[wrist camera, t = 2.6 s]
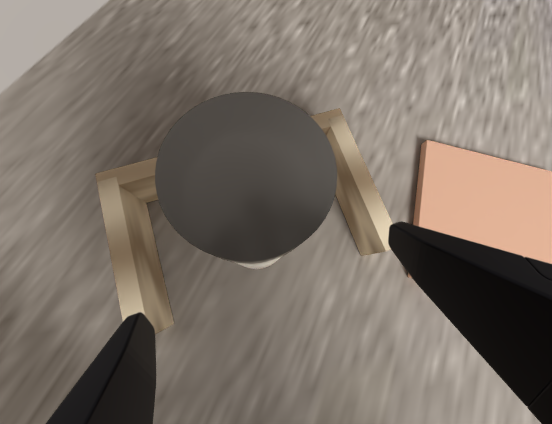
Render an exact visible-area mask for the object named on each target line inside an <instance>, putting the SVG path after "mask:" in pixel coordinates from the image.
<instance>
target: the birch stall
mask: <svg viewBox="0 0 552 424" xmlns="http://www.w3.org/2000/svg"><path fill="white" fill-rule="evenodd" d="M310 117H311V118H313V119H314V120H315V122H316V123H317V124H318V125H319V126H320V127H321V129H322V130H323V132H324V133H325V135H326V136H327V138H328V140H329V142H330V144H331V146H332V149H333V152H334V155H335V160H336V165H337V188H336V193H335V194H336V197H337V199H338V202H339V204H340V207H341V209H342V211H343V214H344V216H345V219H346V221H347V223H348V226H349V228H350V231H351V233H352V235H353V238H354V240H355V243H356V245H357V247H358V250H359V252H360V255H361V256H364V255H369V254H375V253H380V252H385V251H388V250H391V248H390V246H389V244H388V237H389V227H390V225H391V224H392V221H391V219H390V217H389V215H388V213H387V210H386V208H385V206H384V204H383V202H382V200H381V197H380V195H379V193H378V191H377V189H376V186H375V184H374V182H373V180H372V178H371V176H370V173H369V171H368V169H367V167H366V165H365V162H364V160H363V158H362V156H361V154H360V152H359V149H358V147H357V145H356V143H355V141H354V138H353V136H352V134H351V132H350V130H349V128H348V125H347V123H346V121H345V119H344V117H343V114H342V112H341V110H340V108H339V109H335V110H331V111H327V112H324V113H320V114H316V115H312V116H310ZM156 161H157V157H156V158H152V159H148V160H144V161H141V162H137V163H133V164H129V165H126V166H122V167H118V168H114V169H111V170H107V171H103V172H100V173H96V174H95V175H96V180H97V186H98V191H99V196H100V202H101V207H102V212H103V218H104V223H105V228H106V234H107V239H108V244H109V250H110V255H111V261H112V266H113V271H114V277H115V282H116V287H117V293H118V298H119V303H120V309H121V314H122V319H123V321H124V320H125V319H126V317H128V316H130V315H133V314H135V313H138V312H141V313H143V314H144V315H145V316H146V317H147V319H148V320H149V321H150V323H151V324H152V325H153V327H154V329H155V334H157V333H159V332H160V331H162V330H164V329H166V328H168V327H169V326H171V325H173V324H174V321H173V316H172V312H171V308H170V303H169V299H168V295H167V290H166V286H165V282H164V277H163V273H162V269H161V264H160V260H159V256H158V251H157V247H156V243H155V238H154V234H153V230H152V225H151V221H150V217H149V212H148V208H147V204H146V203H148V202H151V201H155V200H158V196H157V192H156V185H155V168H156Z"/></svg>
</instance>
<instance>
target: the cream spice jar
mask: <svg viewBox="0 0 552 424" xmlns="http://www.w3.org/2000/svg"><path fill="white" fill-rule="evenodd" d="M155 185H156V192H157V196H158V200H159V203H160V206H161V208H162V210H163V212H164V214H165V216H166V218H167V219H168V221H169V222H170V224H171V225H172V226H173V227H174V229H175V230H176V231H177V232H178V233H179V234H180V235H181V236H182V237H183V238H185V239H186V240H187V241H188V242H189V243H191V244H192V245H194V246H196V247H197V248H199V249H200V250H203V251H205V252H207V253H209V254H212V255H214V256H216V257H219V258H221V259H224V260H227V261H231V262H235V263H237V264H239V265H241V266H243V267H246V268H250V269H262V268H266V267H268V266H270V265H272V264H274V263H275V262H276V261H277V260H278V259H280V258H281V257H282V256H283V255H285V254H287V253H289V252H291V251H292V250H293V249H295V248H296V247H297V246H299V245H300V244H301V243H303V242H304V241H305V240H306V239H308V238H309V237H310V236H311V235H312V234H313V233H314V232H315V231H316V230H317V229H318V227H319V226H320V225H321V223H322V222H323V221H324V219H325V218H326V216H327V214H328V212H329V210H330V208H331V206H332V203H333V200H334V197H335V193H336V188H337V165H336V160H335V155H334V152H333V149H332V146H331V144H330V142H329V140H328V138H327V136H326V135H325V133H324V132H323V130H322V129H321V127H320V126H319V125H318V124H317V123H316V122H315V120H314V119H313V118H311V117H310V116H309V115H308V114H307V113H306V112H305V111H303V110H302V109H300V108H299V107H297V106H296V105H294V104H292V103H290V102H288V101H286V100H284V99H281V98H279V97H275V96H272V95H268V94H262V93H255V92H238V93H230V94H225V95H221V96H218V97H214V98H212V99H209V100H207V101H204V102H203V103H201V104H199V105H197V106H195V107H194V108H192V109H191V110H190V111H188V112H187V113H186V114H184V115H183V116H182V117H181V118H180V119H179V120H178V121H177V122H176V123H175V125H174V126H173V127H172V128H171V129H170V131H169V133H168V134H167V136H166V137H165V139H164V141H163V143H162V145H161V148H160V150H159V154H158V157H157V161H156V168H155Z"/></svg>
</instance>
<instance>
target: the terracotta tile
mask: <svg viewBox="0 0 552 424" xmlns="http://www.w3.org/2000/svg"><path fill="white" fill-rule="evenodd" d="M413 225H416V226H419V227H423V228H426V229H430V230H433V231H437V232H440V233H444V234H448V235H451V236H455V237H458V238H462V239H465V240H469V241H472V242H476V243H479V244H483V245H486V246H490V247H493V248H497V249H501V250H504V251H508V252H511V253H515V254H518V255H522V256H523V257H529V258H532V259H536V260H539V261H543V262H547V263H550V264H552V171H548V170H544V169H540V168H536V167H532V166H528V165H524V164H520V163H516V162H512V161H508V160H504V159H500V158H496V157H493V156H489V155H485V154H481V153H477V152H473V151H469V150H465V149H461V148H457V147H453V146H449V145H445V144H441V143H437V142H434V141H430V140H426V141H425V142H424V143H423V144H422V145H421V154H420V163H419V173H418V183H417V192H416V202H415V211H414V221H413ZM408 277H409V278H412V277H411V276H410V274H409V273H408Z"/></svg>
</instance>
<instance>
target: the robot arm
mask: <svg viewBox="0 0 552 424" xmlns="http://www.w3.org/2000/svg"><path fill="white" fill-rule="evenodd" d="M388 244H389V246H390V248H391V250H392V251H393V252H394V254H395V255H396V256H397V258H398V259H399V261H400V262H401V263H402V265H403V266H404V267H405V269H406V270H407V272H408V273H409V274H410V276H411V277H412V278H413V280H414V281H415V282H416V283H417V284H418V285H419V287H420V288H421V289H422V290H423V291H424V292H425V293H426V294H427V296H428V297H429V298H430V299H431V300H432V301H433V302H434V303H435V305H436V306H437V307H438V308H439V309H440V310H441V311H442V312H443V313H444V315H445V316H446V317H447V318H448V319H449V320H450V321H451V322H452V324H453V325H454V326H455V327H456V328H457V329H458V330H459V331H460V333H461V334H462V335H463V336H464V337H465V338H466V339H467V340H468V341H469V343H470V344H471V345H472V346H473V347H474V348H475V349H476V350H477V352H478V353H479V354H480V355H481V356H482V357H483V358H484V359H485V360H486V362H487V363H488V364H489V365H490V366H491V367H492V368H493V369H494V371H495V372H496V373H497V374H498V375H499V376H500V377H501V378H502V380H503V381H504V382H505V383H506V384H507V385H508V386H509V387H510V388H511V390H512V391H513V392H514V393H515V394H516V395H517V396H518V397H519V399H520V400H521V401H522V402H523V403H524V404H525V405H526V406H528V409H529V410H530V411H531V412H532V413H533V415H534V416H535V417H536V418H537V419H538V420H539V421H540V422H541V423H542V424H552V264H550V263H547V262H543V261H539V260H536V259H532V258H529V257H523V256H522V255H518V254H515V253H511V252H508V251H504V250H501V249H497V248H493V247H490V246H486V245H483V244H479V243H476V242H472V241H469V240H465V239H462V238H458V237H455V236H451V235H448V234H444V233H440V232H437V231H433V230H430V229H426V228H423V227H419V226H416V225H412V224H409V223H405V222H397V223H394V224H391V225H390V227H389V237H388ZM155 390H156V348H155V329H154V327H153V325H152V324H151V323H150V321H149V320H148V319H147V317H146V316H145V315H144V314H143V313H141V312H138V313H135V314H133V315H130V316H128V317H126V319H125V320H124V321H123V322H122V324H121V325H120V326H119V328H118V329H117V330H116V332H115V333H114V334H113V336H112V337H111V338H110V340H109V341H108V342H107V344H106V345H105V346H104V347H103V349H102V350H101V351H100V353H99V354H98V355H97V357H96V358H95V359H94V361H93V362H92V363H91V365H90V366H89V367H88V369H87V370H86V371H85V373H84V374H83V375H82V377H81V378H80V379H79V381H78V382H77V383H76V384H75V386H74V387H73V388H72V390H71V391H70V392H69V394H68V395H67V396H66V398H65V399H64V400H63V402H62V403H61V404H60V406H59V407H58V408H57V410H56V411H55V412H54V414H53V415H52V416H51V417H50V419H49V420H48V421H47V423H46V424H153V413H154V402H155Z"/></svg>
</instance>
